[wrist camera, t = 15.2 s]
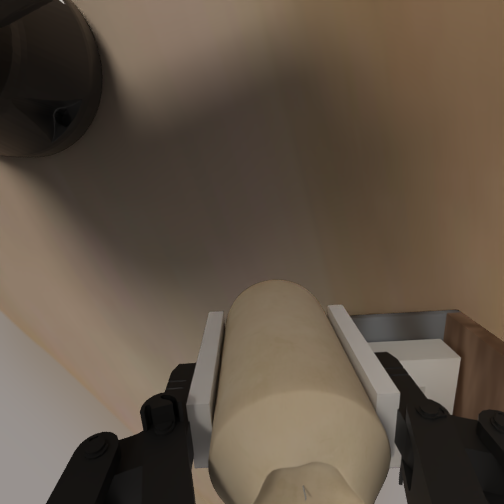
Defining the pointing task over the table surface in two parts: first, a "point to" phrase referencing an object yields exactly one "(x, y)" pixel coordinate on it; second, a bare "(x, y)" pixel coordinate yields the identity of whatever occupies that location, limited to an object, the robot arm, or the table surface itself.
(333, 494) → the candle
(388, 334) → the backstop jig
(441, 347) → the holder
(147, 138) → the table surface
